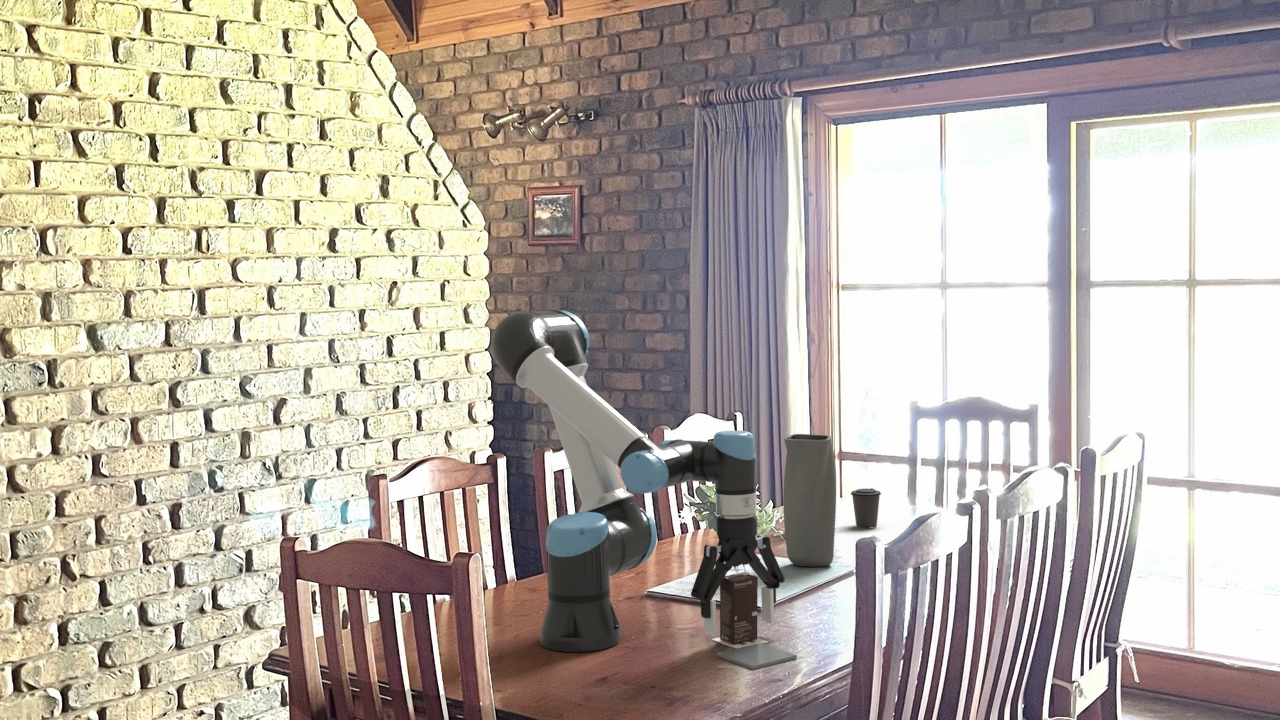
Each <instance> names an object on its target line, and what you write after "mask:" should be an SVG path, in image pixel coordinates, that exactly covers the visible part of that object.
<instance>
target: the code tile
mask: <svg viewBox="0 0 1280 720" xmlns="http://www.w3.org/2000/svg"><path fill="white" fill-rule="evenodd" d="M711 641H713V642H717V643H719V644H722V645H726V646H728V647H730V648H734V649H737V648H741V647H745V646H750V645H754V644H758V643H763V644H766V643H769V641H767V640H765V639H762V638H760V637H757V639H756V640H750V641H746V642H741V643H736V644H730V643H726V642H724V641H722V640H720V636H719V637H714V638H711Z"/></svg>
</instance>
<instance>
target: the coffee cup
mask: <svg viewBox="0 0 1280 720" xmlns="http://www.w3.org/2000/svg"><path fill="white" fill-rule="evenodd" d="M850 495H851V497H852V503H853V509H854V510H853V511H854V518H855V526H856V528H859V529H871V528H870V527H875V526H878V517H879V507H880V506H879V505H880V496H881V495H882V492H881V491H880V490H876V489H875V488H872V487H871V488H858V489H855V490H852V491H851V492H850ZM875 528H876V527H875Z"/></svg>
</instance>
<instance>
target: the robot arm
mask: <svg viewBox="0 0 1280 720" xmlns="http://www.w3.org/2000/svg"><path fill="white" fill-rule="evenodd" d="M589 334H590V333H589V331H588V329H587V327H586V325H585V324H584V322H583V321H582V319H580V317H578V315H576V314H574V313H572V312H569V311H567V310H561V309H547V310H536V311H535V310H534V311H519V312H518V311H517V312H514V313H511V314H509V315H507V316H505V317H503V318H502V319H501V320H500V322H498V323H497V324H496V327H495V328H494V331H493V333H492V337H491V347H490V348H491V351H492V356H493V358H494V360H495V362H496V364H497V366H499V368H500V369H501V371H502V372H503V373H504V374H505V375H506V376H507V377H508V378H509V379H510V380H511V381H513V382H514V383H515V384H516V386H518V387H520V388H522V389H523V388H524V389H525V388H529V389H530V390H531V391H532V392H533V394H535V395H536V396H538V397H539V398H540V399H541V401H543V402H545V404H547V405H548V408H549V411H550V414H551V416H552V419H553V422H554V425H555V426H554V427H555V428H556V431H557V433H558V436H559V440H560V442H561V445H562V449H563V451H564V455H565V457H566V458H565V459H566V461H567V463H568V466H569V469H570V471H571V474H572V475H571V476H572V478H573V481H574V484H575V487H576V491H577V492H578V495H579V499H580V501H581V506H580V507H579V508H580V509H579V510H578V512H574V513H573V514H570V513H569V514H566V515H562V516H559V517H557V518H555V519H554V520H552V521H551V522H550V523H548V526H547V529H546V540H545V545H544V546H545V550H546V568H547V569H546V570H547V571H546V573H547V596H548V598H547V599H548V602H547V605H546V610H545V613H544V617H543V620H542V624H541V627H540V631H539V637H540V638H539V639H540V640H539V641H540V645H541V646H542V647H544V648H546V649H549V650H553V651H556V652H557V651H558V652H568V653H580V652H581V653H582V652H583V653H584V652H585V653H586V652H592V651H593V652H594V651H600V650H605V649H608V648H612V647H613V646H616V645H617V644H619V643H620V642H621V640H622V637H621V632H622V631H621V626H620V623H619V621H618V620H619V619H618V618H617V614H616V612H615V609H614V606H613V603H612V601H611V600H612V599H611V585H610V584H611V583H610V582H611V579H610V578H611V577H612V576H614V575H617V574H620V573H623V572H625V571H630V570H632V569H635V568H637V567H639V566H640V565H641V564H643V563H644V562H646V561H647V560H649V558H650V557H651V556H652V554H653V552H654V549H655V548H656V545H657V540H658V539H657V537H658V533H657V532H658V531H657V527H656V524H655V521H654V519H653V517H652V516H651V515H650V513H649V512H648V511H645V510H644V508H642V507H639V506H638V504H637V501H636V499H635V496H634V494H640V495H641V494H642V495H643V494H649V493H650V494H651V493H656V492H658V491H661V490H663V489H667V488H669V487H675V486H677V485H681V484H684V483H687V482H709V483H713V482H714V488H715V513H716V514H717V517H716V535H717V537H718V543H717V545H711V544H705V545H704V546H703V556H702V560H701V563H700V566H699V568H698V571H697V574H696V578H695V581H694V583H693V587H692V589H691V593H690V596H691V597H692V598H695V599H698V600H699V601H700V615H701V618H703V623H704V624H703V625H704V626H703V627H704V628H703V629H704V634H705V635H707V636H711V637H714V638H715V637H717V636H718V635H717V633H718V632H717V631H718V630H717V606H716V605H717V603H716V600H714V599H713V598H714V596H715V595H716V593H717V591H718V589H719V588H720V584H721V582H722V580H723V579H724V577H725V576H727V573H728V572H729V571H730V570H732V568H733V567H734V568H735V567H739V566H741V565H744V566H745V565H748V566H749V567H750V568H751V569H752V571H754V573H755V575H757V577H758V579H760V580H761V581H762V583H763V584H764V586H760V591H761V592H760V595H761V598H760V599H761V601H760V602H761V622H765V623H768V624H775V604H777V589H779V588H780V587H781V583H782V584H783V583H784V582H785V580H786V579H785V576H784V573H783V572H782V569H781V567H780V565H779V562H778V561H777V558H776V556H775V553H774V552H773V549H772V546H771V539H770V537H769V536H766V535H761V534H759V535H758V517H757V515H755V514H756V513H757V509H758V508H757V506H758V505H757V485H756V458H757V454H756V448H755V447H756V446H755V438H754V435H753V434H752V433H751V432H749V431H745V430H722V431H717V432H715V434H714V435H713V440H712V441H699V440H698V441H697V440H683V439H679V438H677V439H670V440H669V439H667V440H663V441H660V443H659V445H656V444H655V443H654V442H652V440H651V439H649V438H648V437H647V436H646V435H645V434H643V433H642V432H641V431H640V430H639V429H637V427H635V426H634V425H633V424H631V422H630V421H628V420H627V419H626V418H625V417H624V416H623V415H621V414H620V413H619V412H618V411H617V410H616V409H615V408H614V407H612V406H611V405H610V404H609V403H608V402H607V401H605V400H604V399H603V398H602V397H601V396H600V395H599V394H597V393H596V392H595V391H594V390H593V389H591V388H590V387H589V386H588V384H587V382H586V378H585V374H586V372H587V369H589V368H588V367H589V364H588V361H587V358H586V357H587V355H588V353H589V351H588V349H589V348H590V344H591V343H590V336H589ZM616 467H618V468H619V469H620V477H621V479H622V482H623V484H624V486H625V487H626V488H627V489H628V490H629V491H630V492H629V491H627V490H626V489H624V488H623V485H622V483H621V480H620V477H619V474H618V471H617V469H616ZM631 492H632V493H631ZM633 493H634V494H633ZM756 536H757V537H756ZM757 549H758V552H759V554H760V556H761V558H760V557H759V556H758V555H757V553H756V552H755V551H756V550H757ZM761 559H762V561H763V563H764V564H763V563H762V561H761Z"/></svg>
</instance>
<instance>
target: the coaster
mask: <svg viewBox="0 0 1280 720" xmlns="http://www.w3.org/2000/svg"><path fill="white" fill-rule="evenodd" d="M716 654H717V656H716V657H719V658H721V659H723V660H727V661H729V662H731V663H734V664H737V665H740V666H742V667H745V668H748V669H751V670H757V669H761V668H764V667H768V666H772V665H777V664H780V663H781V664H782V663H784V662H789V661H793V660H797V659H798V655H796V654H794V653H791V652H789V651H785V650H783V649H779V648H777V647H773V646H771V645H769V644H766V643H758V644H754V645H750V646H745V647H741V648H737V649H736V648H734V649H729V650H724V651H721V652H717V653H716Z"/></svg>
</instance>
